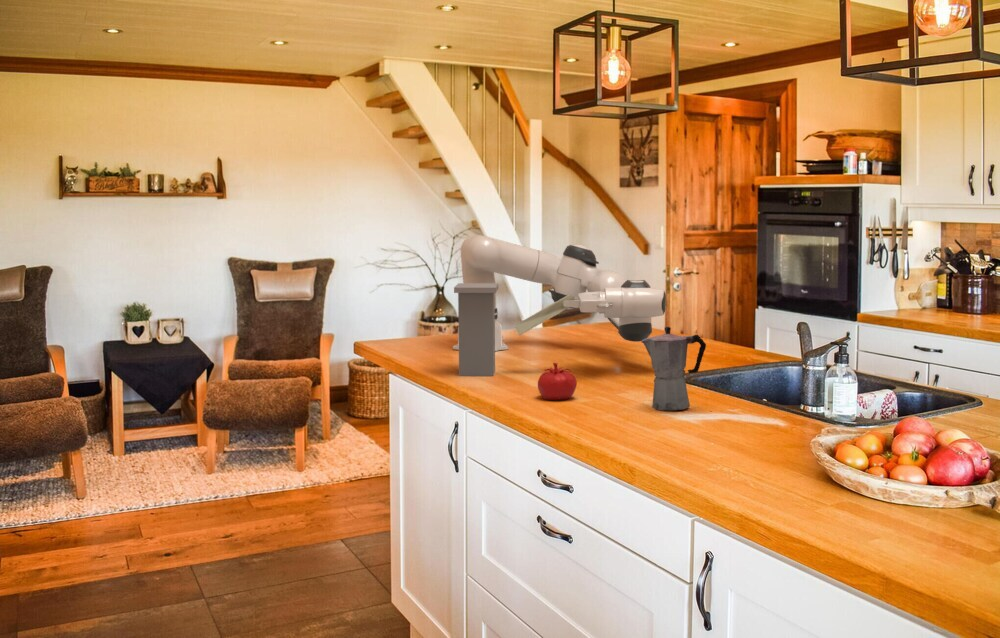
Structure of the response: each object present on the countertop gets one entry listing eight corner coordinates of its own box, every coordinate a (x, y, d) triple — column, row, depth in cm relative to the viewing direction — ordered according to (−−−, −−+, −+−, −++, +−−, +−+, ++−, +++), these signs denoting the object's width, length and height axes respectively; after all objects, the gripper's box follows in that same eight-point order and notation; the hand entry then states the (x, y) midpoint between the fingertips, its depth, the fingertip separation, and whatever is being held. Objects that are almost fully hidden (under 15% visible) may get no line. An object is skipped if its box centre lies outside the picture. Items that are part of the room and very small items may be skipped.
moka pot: (639, 403, 235) (640, 324, 233) (701, 404, 234) (703, 324, 231) (641, 411, 226) (642, 329, 223) (706, 412, 224) (708, 329, 222)
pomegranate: (579, 402, 238) (579, 366, 236) (539, 402, 237) (540, 366, 235) (572, 393, 247) (573, 359, 246) (535, 394, 247) (535, 359, 245)
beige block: (519, 334, 277) (514, 325, 277) (575, 302, 275) (570, 293, 275) (519, 335, 274) (514, 326, 273) (576, 303, 272) (571, 294, 272)
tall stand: (459, 368, 285) (458, 283, 282) (498, 368, 284) (498, 283, 281) (455, 377, 271) (454, 287, 268) (496, 377, 271) (496, 287, 267)
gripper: (613, 317, 263) (563, 317, 264) (607, 309, 283) (562, 309, 284) (613, 295, 262) (564, 295, 263) (608, 288, 283) (562, 288, 283)
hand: (563, 302), depth 274 cm, fingers closed on beige block, 3 cm apart
